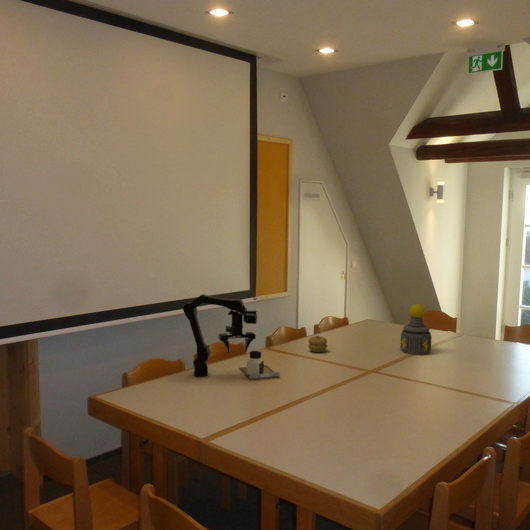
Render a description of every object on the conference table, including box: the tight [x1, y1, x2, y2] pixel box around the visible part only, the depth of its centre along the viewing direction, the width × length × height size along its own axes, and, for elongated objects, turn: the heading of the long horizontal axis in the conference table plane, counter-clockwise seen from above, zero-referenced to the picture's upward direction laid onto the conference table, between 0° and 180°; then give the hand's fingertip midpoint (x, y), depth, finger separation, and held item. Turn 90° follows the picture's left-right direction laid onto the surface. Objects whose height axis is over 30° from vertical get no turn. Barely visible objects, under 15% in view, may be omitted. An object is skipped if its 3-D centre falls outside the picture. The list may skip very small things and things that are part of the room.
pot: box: [307, 335, 328, 353], centre depth 354 cm, size 12×12×10 cm
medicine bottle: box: [246, 350, 265, 375], centre depth 301 cm, size 7×7×12 cm
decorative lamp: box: [400, 303, 432, 356], centre depth 355 cm, size 19×19×30 cm
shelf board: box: [238, 364, 281, 381], centre depth 305 cm, size 16×22×1 cm
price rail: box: [249, 371, 281, 379], centre depth 295 cm, size 16×2×2 cm, turn 108°
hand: (236, 352), depth 298 cm, fingers open, 9 cm apart
